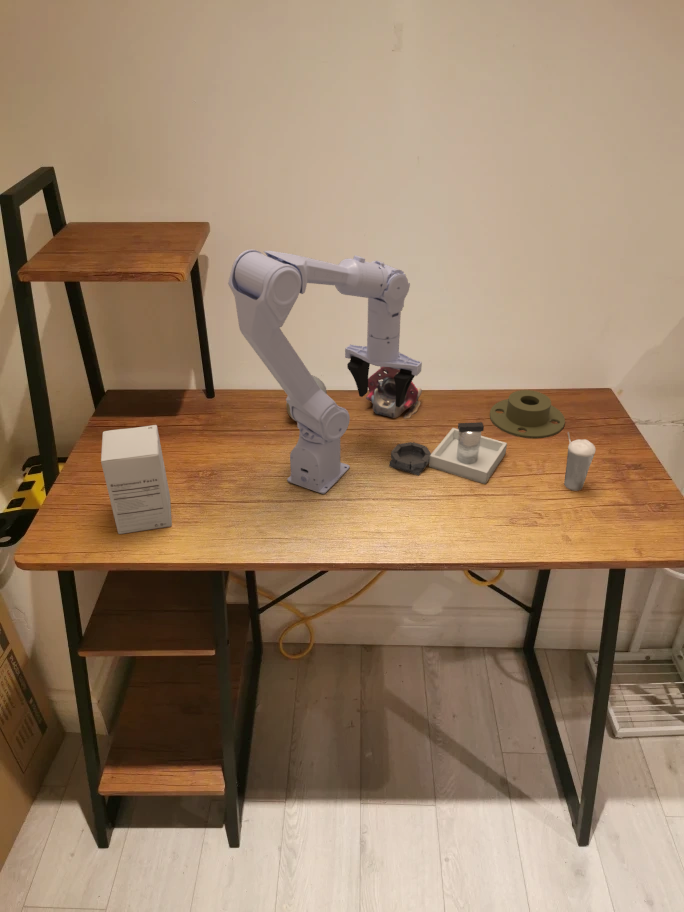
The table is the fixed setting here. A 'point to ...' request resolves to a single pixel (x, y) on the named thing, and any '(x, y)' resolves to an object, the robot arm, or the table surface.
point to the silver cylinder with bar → (469, 442)
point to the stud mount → (410, 457)
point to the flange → (527, 415)
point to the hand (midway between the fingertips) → (381, 399)
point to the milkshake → (578, 463)
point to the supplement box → (136, 479)
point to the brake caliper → (391, 394)
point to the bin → (478, 472)
